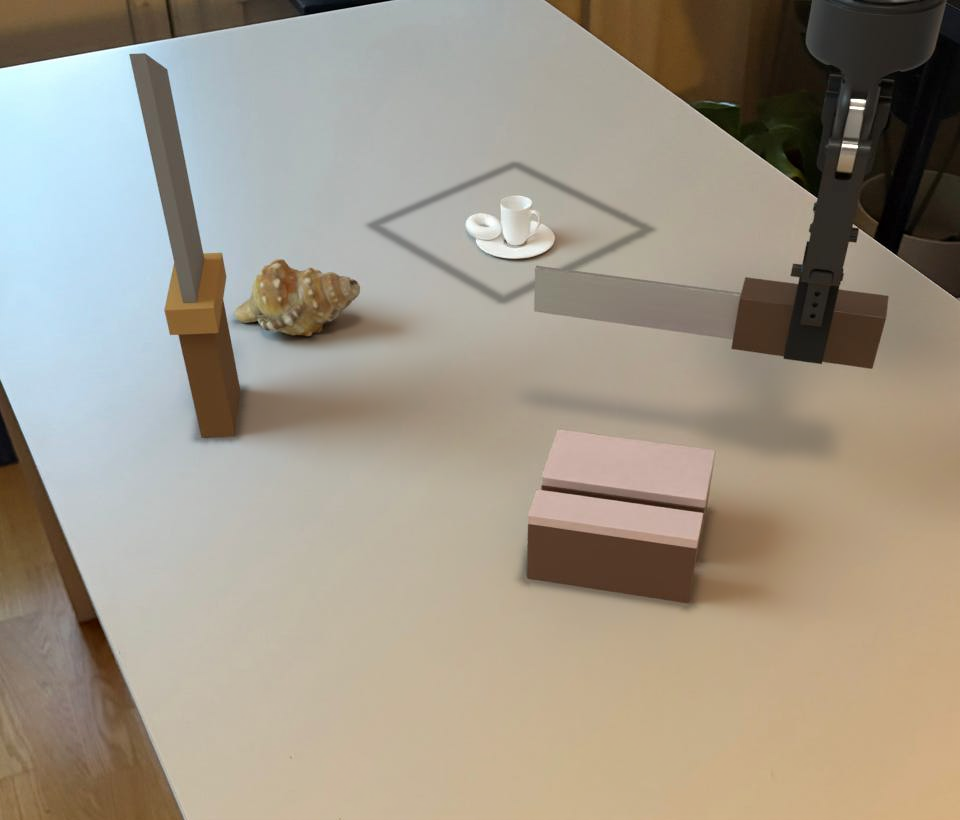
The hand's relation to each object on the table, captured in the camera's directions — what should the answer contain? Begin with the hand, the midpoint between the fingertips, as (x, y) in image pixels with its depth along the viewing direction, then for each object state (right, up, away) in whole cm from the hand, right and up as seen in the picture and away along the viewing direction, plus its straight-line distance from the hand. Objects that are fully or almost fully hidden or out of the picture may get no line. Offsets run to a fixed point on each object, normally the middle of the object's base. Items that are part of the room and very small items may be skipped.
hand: (805, 344), depth 88 cm
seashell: (-40, +10, +26) cm, 49 cm away
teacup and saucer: (-20, +24, +37) cm, 49 cm away
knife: (-46, -1, +17) cm, 49 cm away
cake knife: (-7, +1, +2) cm, 8 cm away
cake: (-12, -12, +6) cm, 18 cm away
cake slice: (-14, -16, +3) cm, 22 cm away
